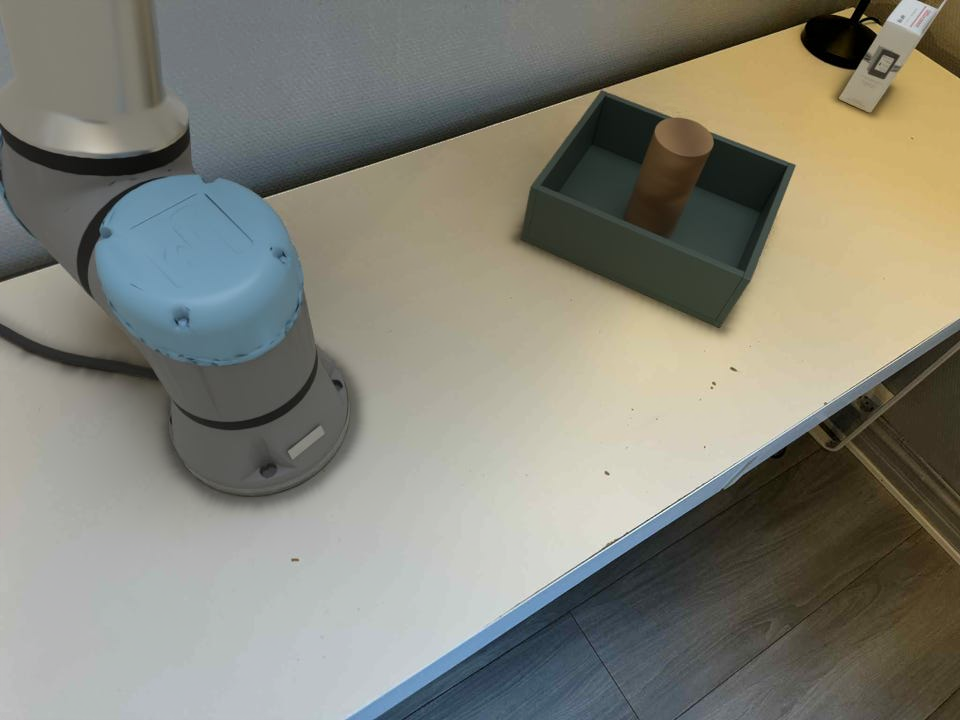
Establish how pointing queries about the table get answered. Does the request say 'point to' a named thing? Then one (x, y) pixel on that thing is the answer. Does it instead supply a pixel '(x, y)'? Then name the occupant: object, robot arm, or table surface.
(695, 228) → the bin
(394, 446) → the table surface
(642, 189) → the cardboard tube
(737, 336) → the table surface
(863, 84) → the ink box
